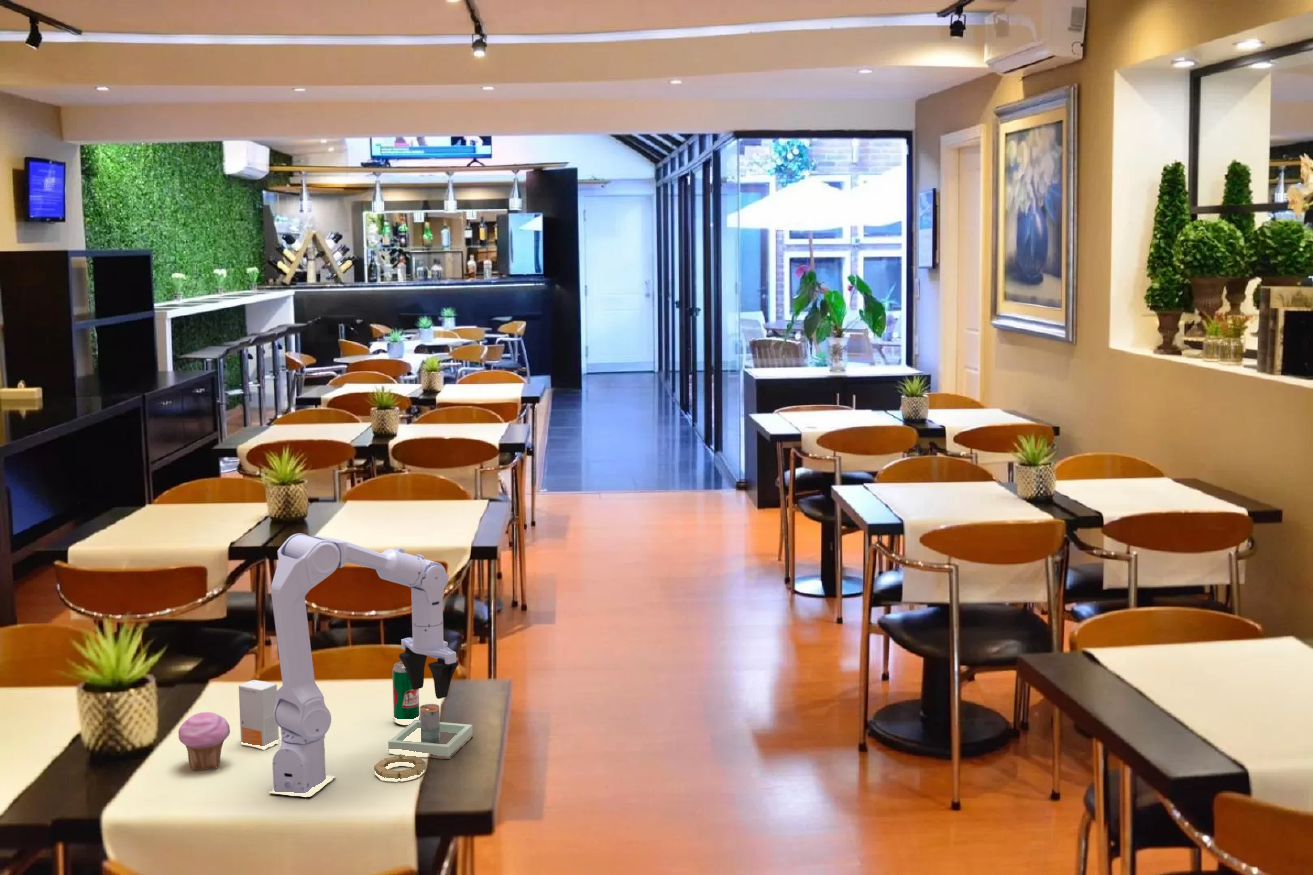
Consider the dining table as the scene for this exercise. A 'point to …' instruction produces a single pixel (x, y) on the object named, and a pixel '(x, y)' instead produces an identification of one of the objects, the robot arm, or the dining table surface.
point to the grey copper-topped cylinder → (430, 723)
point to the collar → (416, 770)
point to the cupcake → (204, 739)
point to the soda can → (404, 694)
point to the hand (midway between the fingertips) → (429, 692)
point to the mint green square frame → (432, 748)
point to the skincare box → (258, 712)
